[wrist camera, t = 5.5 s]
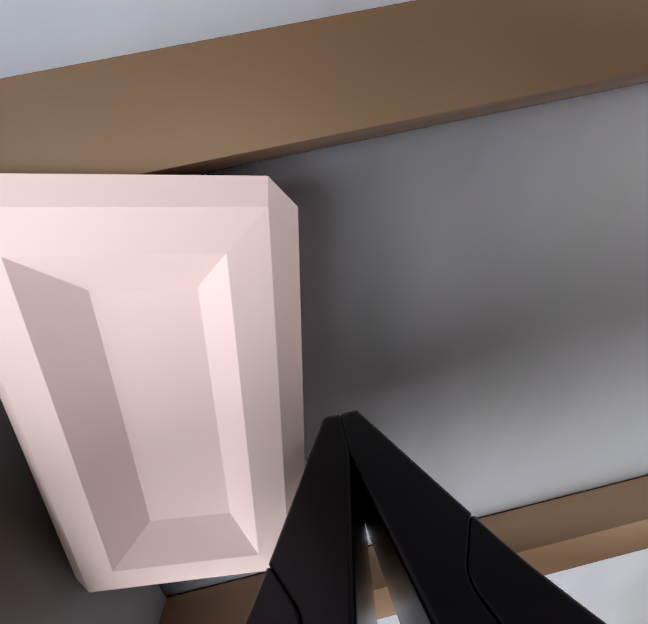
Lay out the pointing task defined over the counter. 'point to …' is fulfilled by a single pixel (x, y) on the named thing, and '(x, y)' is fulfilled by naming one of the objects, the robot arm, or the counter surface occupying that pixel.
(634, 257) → the counter surface
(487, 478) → the counter surface
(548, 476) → the counter surface
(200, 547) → the soap bar
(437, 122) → the guide channel
